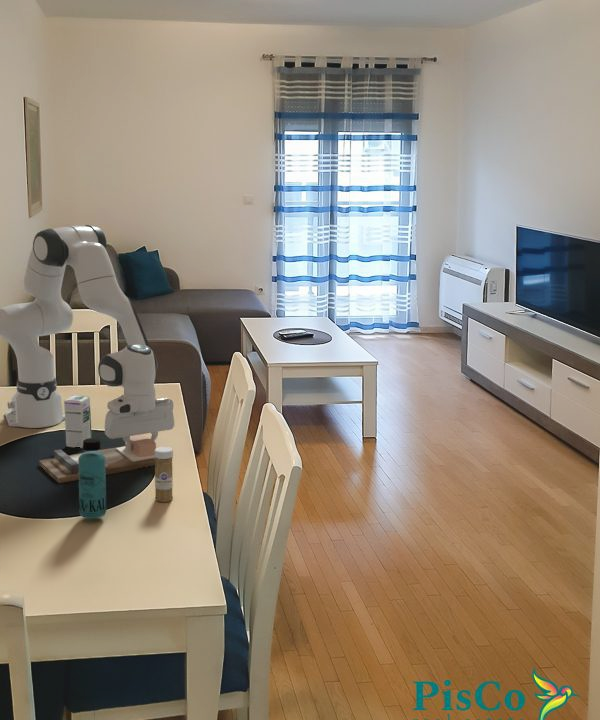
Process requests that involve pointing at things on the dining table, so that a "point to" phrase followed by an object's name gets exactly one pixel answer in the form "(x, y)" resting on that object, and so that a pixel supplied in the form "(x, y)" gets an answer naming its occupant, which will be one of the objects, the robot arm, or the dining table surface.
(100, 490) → the beverage bottle
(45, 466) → the board
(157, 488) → the sprinkles bottle
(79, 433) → the syrup box
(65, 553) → the dining table surface
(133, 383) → the robot arm
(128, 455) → the pink rectangular block
